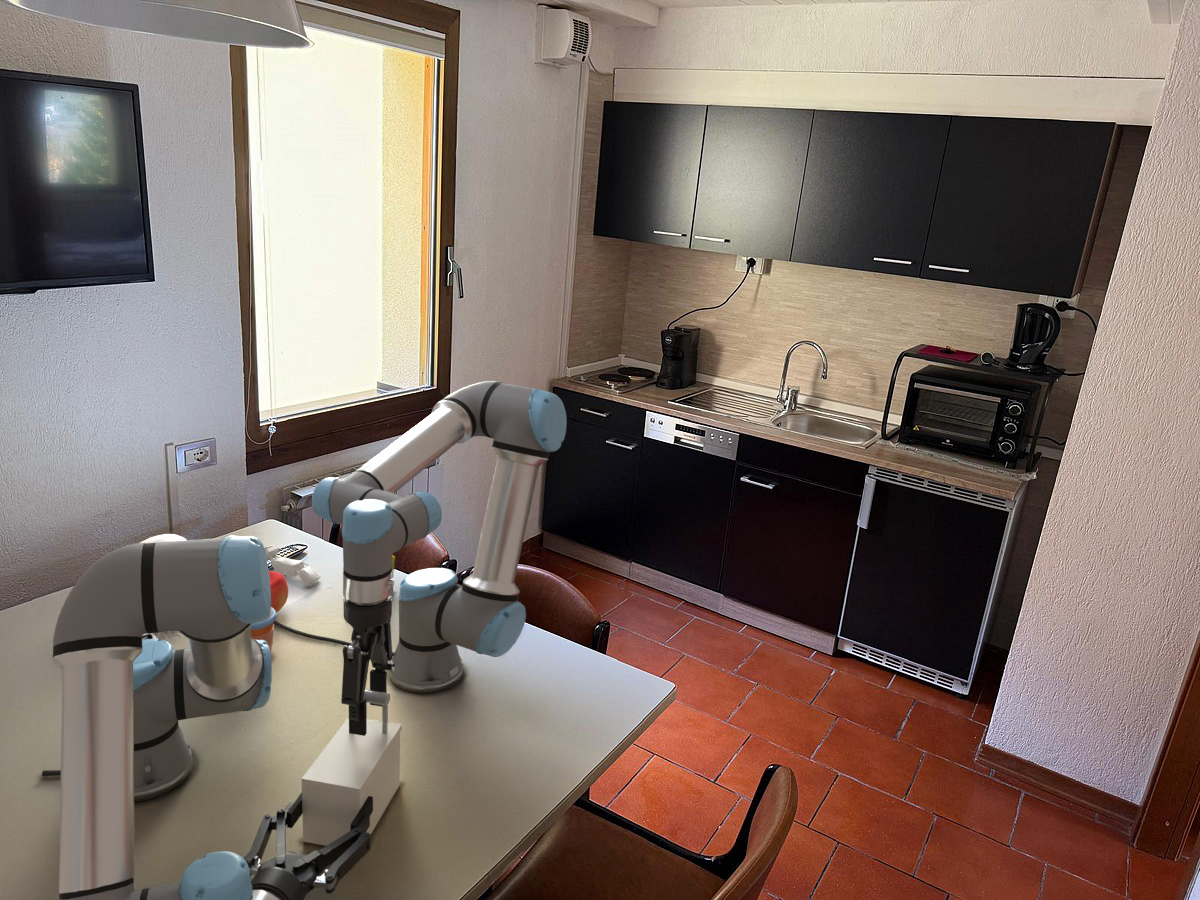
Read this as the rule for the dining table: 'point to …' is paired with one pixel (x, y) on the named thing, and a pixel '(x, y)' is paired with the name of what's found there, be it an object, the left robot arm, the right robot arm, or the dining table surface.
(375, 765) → the lid
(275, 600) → the apple
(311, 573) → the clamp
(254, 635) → the cup with straw
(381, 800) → the chest
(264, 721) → the dining table surface
